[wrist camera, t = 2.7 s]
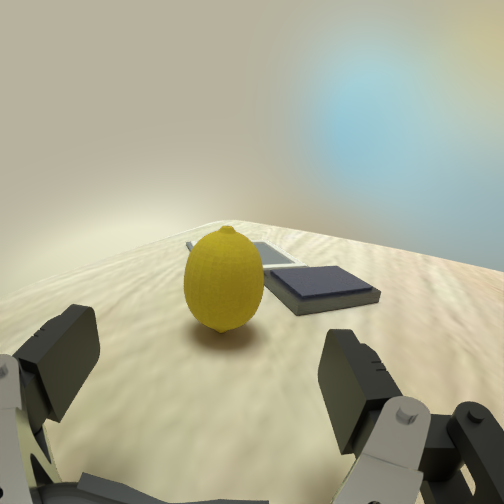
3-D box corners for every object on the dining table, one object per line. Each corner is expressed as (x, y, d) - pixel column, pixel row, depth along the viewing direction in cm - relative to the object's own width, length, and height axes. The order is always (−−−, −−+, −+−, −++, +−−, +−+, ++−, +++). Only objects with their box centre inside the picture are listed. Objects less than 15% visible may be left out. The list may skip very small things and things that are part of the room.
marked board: (268, 243, 48) (268, 239, 48) (311, 272, 37) (312, 266, 37) (186, 244, 44) (186, 240, 43) (206, 278, 32) (207, 272, 32)
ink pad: (335, 275, 36) (337, 263, 36) (378, 302, 29) (381, 288, 29) (260, 280, 33) (261, 267, 32) (296, 315, 26) (299, 299, 25)
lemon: (272, 333, 23) (286, 229, 20) (220, 363, 18) (227, 240, 16) (221, 308, 26) (227, 215, 24) (169, 328, 22) (168, 222, 20)
